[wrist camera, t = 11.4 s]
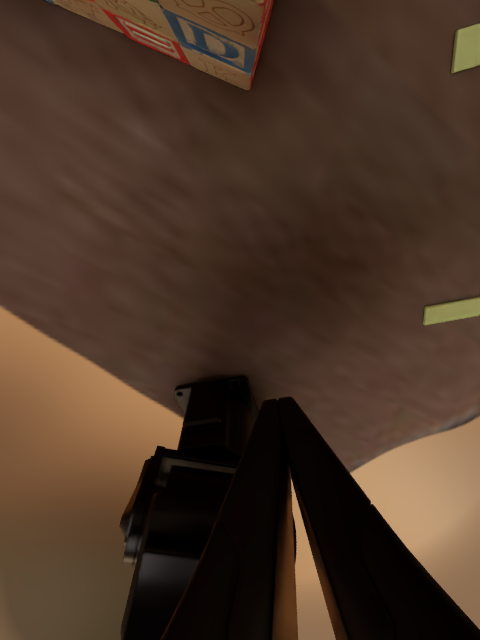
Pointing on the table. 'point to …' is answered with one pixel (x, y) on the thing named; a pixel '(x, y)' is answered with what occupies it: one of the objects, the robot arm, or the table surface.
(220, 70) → the tan printed boxy piece
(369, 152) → the table surface
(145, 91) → the table surface
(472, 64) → the tape box
